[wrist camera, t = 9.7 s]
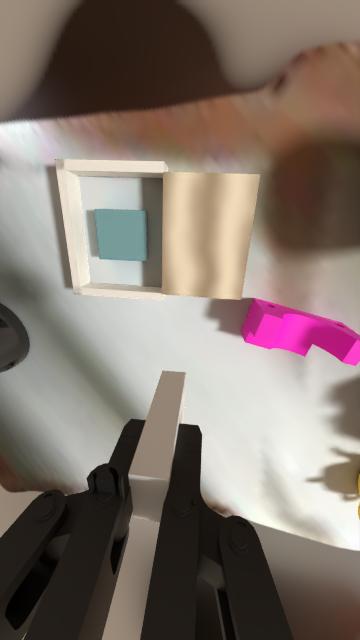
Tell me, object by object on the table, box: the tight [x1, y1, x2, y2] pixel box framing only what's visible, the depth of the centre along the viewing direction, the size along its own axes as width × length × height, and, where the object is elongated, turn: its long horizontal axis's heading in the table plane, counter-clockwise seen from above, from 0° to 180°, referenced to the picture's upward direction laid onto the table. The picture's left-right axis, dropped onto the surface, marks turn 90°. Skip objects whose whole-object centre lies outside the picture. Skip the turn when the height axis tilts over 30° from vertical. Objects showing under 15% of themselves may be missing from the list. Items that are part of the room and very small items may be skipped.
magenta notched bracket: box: [241, 298, 360, 366], centre depth 35 cm, size 15×6×8 cm, turn 75°
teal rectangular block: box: [95, 209, 148, 261], centre depth 35 cm, size 7×7×3 cm
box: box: [55, 159, 168, 301], centre depth 34 cm, size 15×18×4 cm
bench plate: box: [162, 172, 260, 300], centre depth 33 cm, size 12×16×4 cm
